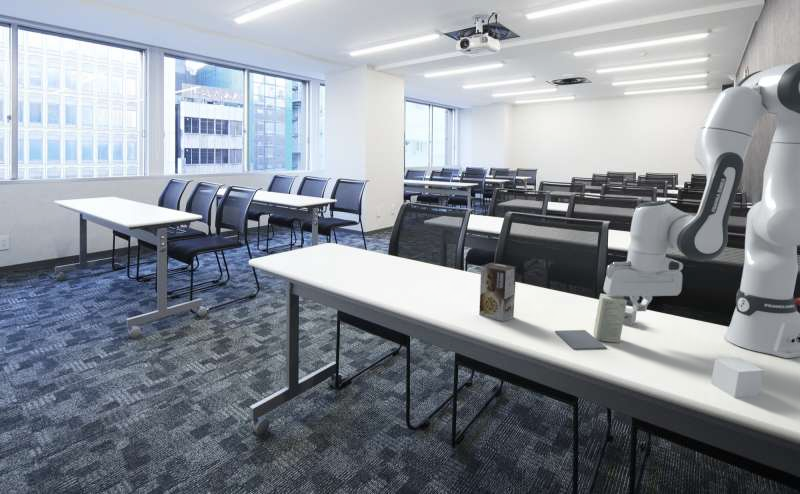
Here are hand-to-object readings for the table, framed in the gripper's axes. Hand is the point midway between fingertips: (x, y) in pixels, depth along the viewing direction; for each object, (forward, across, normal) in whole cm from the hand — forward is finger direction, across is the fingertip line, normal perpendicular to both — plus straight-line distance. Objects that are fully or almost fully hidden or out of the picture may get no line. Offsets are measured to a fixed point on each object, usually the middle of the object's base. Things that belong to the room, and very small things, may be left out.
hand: (639, 310), depth 124 cm
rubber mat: (+8, -16, 0) cm, 18 cm away
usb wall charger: (+8, +5, +13) cm, 16 cm away
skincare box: (+8, -9, 0) cm, 12 cm away
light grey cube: (+8, +5, -28) cm, 30 cm away
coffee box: (+8, -34, +20) cm, 40 cm away
